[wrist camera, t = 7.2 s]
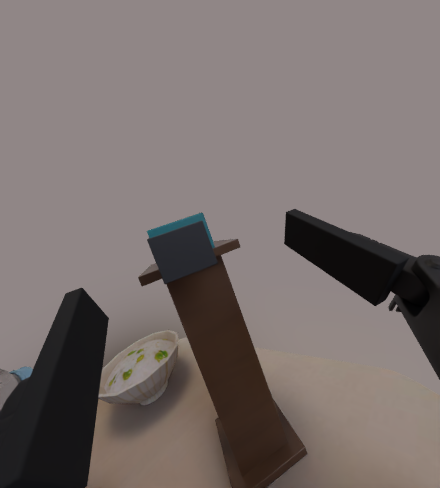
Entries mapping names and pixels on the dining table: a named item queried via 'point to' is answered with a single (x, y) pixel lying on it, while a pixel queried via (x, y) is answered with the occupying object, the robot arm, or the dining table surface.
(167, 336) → the bowl
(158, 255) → the teal long block
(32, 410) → the robot arm
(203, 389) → the dining table surface
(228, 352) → the stand
